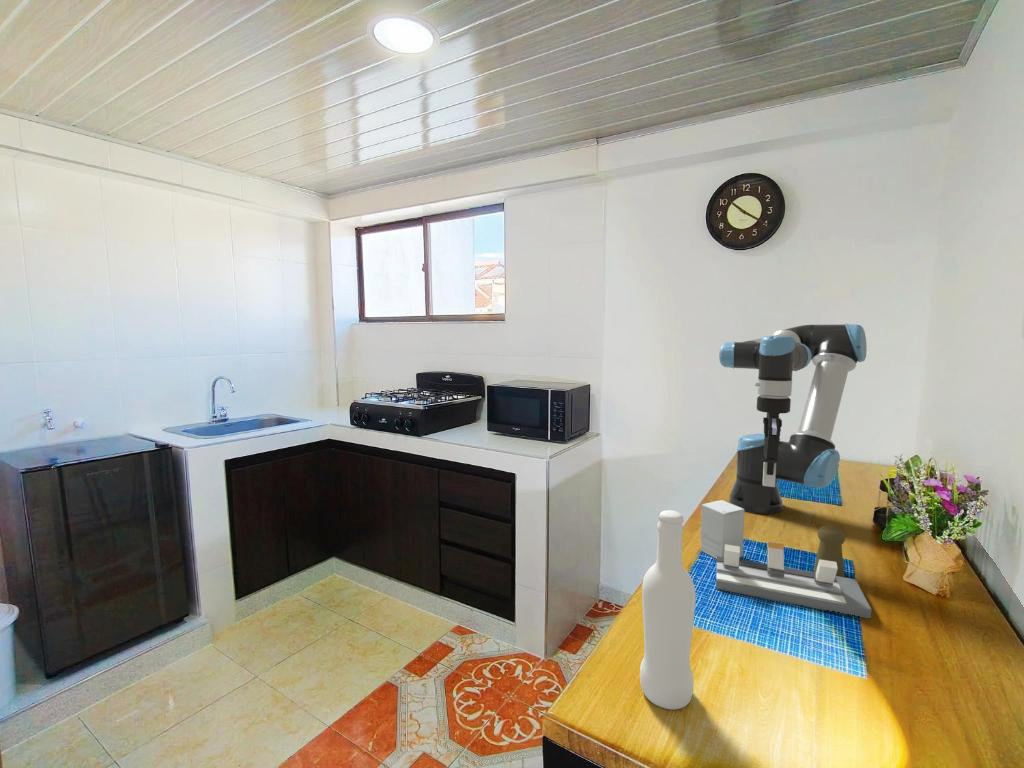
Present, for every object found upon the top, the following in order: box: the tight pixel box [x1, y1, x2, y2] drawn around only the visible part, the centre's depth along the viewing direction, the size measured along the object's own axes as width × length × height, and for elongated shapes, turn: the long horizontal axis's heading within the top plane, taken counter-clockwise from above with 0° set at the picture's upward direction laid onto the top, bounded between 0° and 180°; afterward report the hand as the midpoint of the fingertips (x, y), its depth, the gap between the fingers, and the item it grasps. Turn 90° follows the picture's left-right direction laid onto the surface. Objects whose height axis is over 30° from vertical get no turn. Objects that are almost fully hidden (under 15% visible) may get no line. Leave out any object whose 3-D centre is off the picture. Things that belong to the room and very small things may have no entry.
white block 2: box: [814, 559, 838, 585], centre depth 98 cm, size 2×3×7 cm
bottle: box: [639, 509, 697, 711], centre depth 73 cm, size 8×8×30 cm
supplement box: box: [700, 499, 745, 560], centre depth 118 cm, size 7×7×13 cm
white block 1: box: [723, 544, 740, 569], centre depth 106 cm, size 2×3×7 cm
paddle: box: [766, 541, 785, 577], centre depth 104 cm, size 2×3×7 cm, turn 66°
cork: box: [812, 525, 846, 577], centre depth 108 cm, size 6×6×11 cm
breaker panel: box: [715, 556, 872, 619], centre depth 103 cm, size 12×28×2 cm, turn 66°
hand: (768, 485), depth 122 cm, fingers closed
